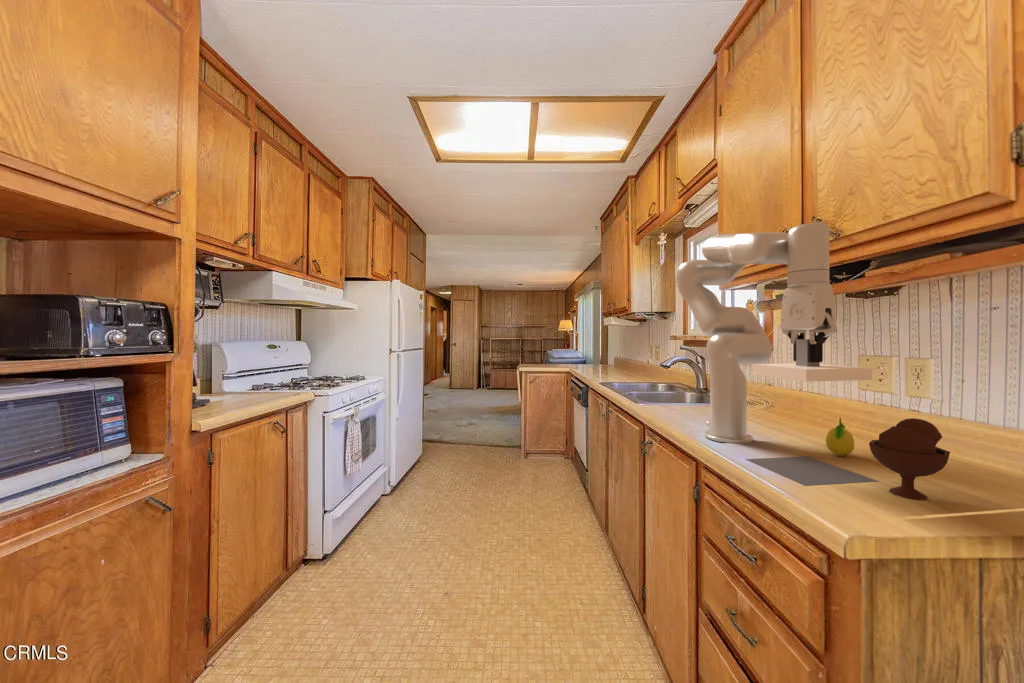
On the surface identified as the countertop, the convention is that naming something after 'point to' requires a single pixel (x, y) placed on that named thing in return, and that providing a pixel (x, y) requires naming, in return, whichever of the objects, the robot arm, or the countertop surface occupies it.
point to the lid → (811, 368)
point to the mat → (810, 471)
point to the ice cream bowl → (910, 454)
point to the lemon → (840, 440)
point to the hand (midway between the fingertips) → (807, 360)
